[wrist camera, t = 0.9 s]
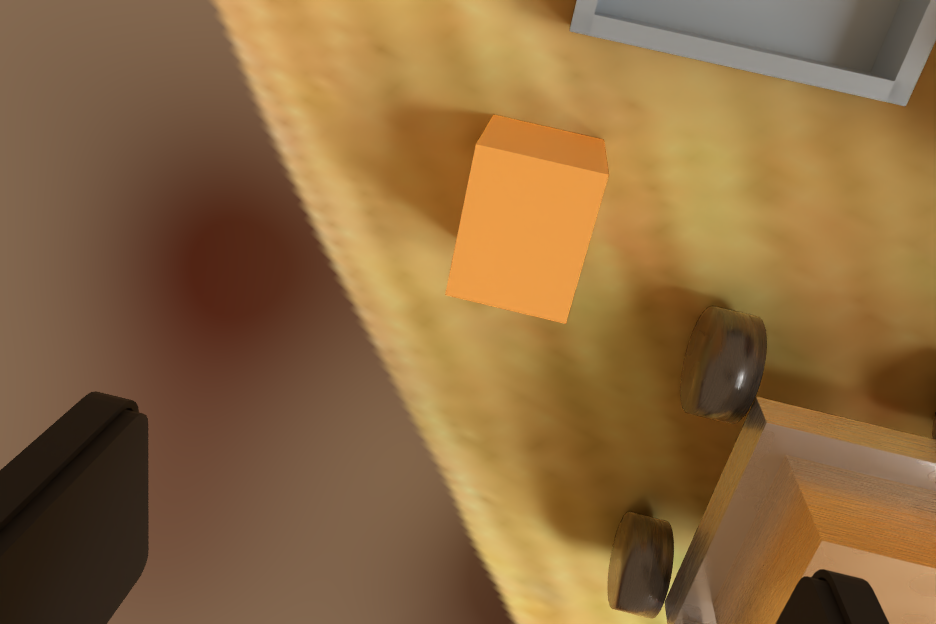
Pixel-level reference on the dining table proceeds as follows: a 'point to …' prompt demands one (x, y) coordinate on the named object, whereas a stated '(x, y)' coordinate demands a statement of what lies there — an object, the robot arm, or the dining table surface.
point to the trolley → (783, 502)
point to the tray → (782, 38)
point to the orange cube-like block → (528, 217)
